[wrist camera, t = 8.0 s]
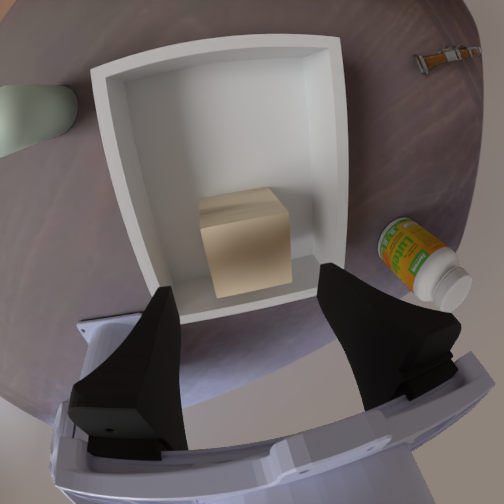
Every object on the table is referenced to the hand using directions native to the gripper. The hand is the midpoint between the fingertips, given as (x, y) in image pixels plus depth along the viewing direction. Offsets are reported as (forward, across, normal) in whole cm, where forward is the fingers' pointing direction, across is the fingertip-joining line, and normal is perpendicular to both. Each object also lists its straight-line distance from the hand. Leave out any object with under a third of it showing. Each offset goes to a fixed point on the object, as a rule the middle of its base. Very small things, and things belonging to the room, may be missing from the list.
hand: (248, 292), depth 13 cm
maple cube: (+9, -1, 0) cm, 9 cm away
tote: (+10, 0, -3) cm, 10 cm away
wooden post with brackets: (+10, -20, -16) cm, 27 cm away
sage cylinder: (+10, +12, -10) cm, 19 cm away
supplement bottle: (+10, -17, +4) cm, 20 cm away
